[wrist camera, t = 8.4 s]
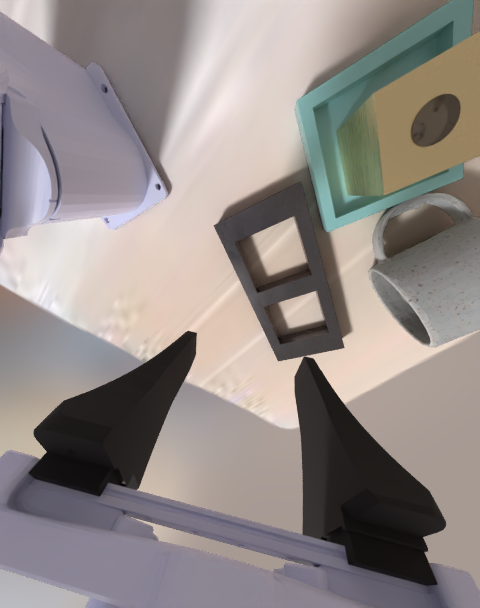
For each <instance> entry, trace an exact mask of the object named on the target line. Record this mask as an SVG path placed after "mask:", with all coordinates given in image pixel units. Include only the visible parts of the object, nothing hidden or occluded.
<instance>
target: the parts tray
mask: <svg viewBox="0 0 480 608" xmlns="http://www.w3.org/2000/svg"><path fill="white" fill-rule="evenodd" d="M473 1H474V0H451V1H449V2H448V3H446V4H445V5H443V6H442V7H440V8H439V9H437V10H435V11H434V12H432V13H431V14H429V15H428V16H426V17H425V18H423V19H422V20H420V21H419V22H417V23H415V24H414V25H412V26H411V27H409V28H408V29H406V30H405V31H403V32H402V33H400V34H399V35H397V36H395V37H394V38H392V39H391V40H389V41H388V42H386V43H385V44H383V45H382V46H380V47H379V48H377V49H375V50H374V51H372V52H371V53H369V54H368V55H366V56H365V57H363V58H362V59H360V60H358V61H357V62H355V63H354V64H352V65H351V66H349V67H348V68H346V69H345V70H343V71H342V72H340V73H338V74H337V75H335V76H334V77H332V78H331V79H329V80H328V81H326V82H325V83H323V84H322V85H320V86H318V87H317V88H315V89H314V90H312V91H311V92H309V93H308V94H306V95H305V96H303V97H301V98H300V99H298V100H297V103H296V107H295V113H296V117H297V121H298V126H299V130H300V134H301V138H302V142H303V146H304V151H305V155H306V159H307V163H308V167H309V171H310V176H311V180H312V184H313V188H314V192H315V197H316V201H317V205H318V209H319V213H320V217H321V222H322V226H323V229H324V230H325V231H327V232H329V231H332V230H334V229H337V228H339V227H342V226H344V225H347V224H349V223H352V222H354V221H357V220H359V219H362V218H364V217H367V216H369V215H372V214H375V213H377V212H380V211H382V210H385V209H387V208H390V207H392V206H395V205H397V204H400V203H402V202H405V201H407V200H410V199H412V198H415V197H417V196H420V195H422V194H425V193H427V192H430V191H432V190H435V189H437V188H440V187H442V186H445V185H447V184H450V183H452V182H455V181H457V180H460V179H462V178H463V168H464V162H463V163H461V164H458V165H456V166H454V167H451V168H449V169H446V170H444V171H442V172H439V173H437V174H435V175H432V176H430V177H427V178H425V179H423V180H420V181H418V182H416V183H413V184H411V185H408V186H406V187H404V188H401V189H399V190H396V191H394V192H392V193H389V194H387V195H385V196H347V191H346V186H345V180H344V174H343V168H342V163H341V157H340V151H339V145H338V140H337V134H336V131H337V130H338V129H339V128H340V127H341V126H342V125H343V124H344V123H345V122H346V121H347V120H348V119H349V118H350V117H351V116H352V115H353V114H354V113H355V112H356V111H357V110H358V109H359V108H360V107H361V106H362V105H363V104H364V103H365V102H366V101H367V100H368V98H369V97H370V96H371V95H372V94H373V93H375V92H376V91H378V90H380V89H381V88H383V87H385V86H387V85H388V84H390V83H392V82H393V81H395V80H397V79H399V78H400V77H402V76H404V75H405V74H407V73H409V72H411V71H412V70H414V69H416V68H417V67H419V66H421V65H422V64H424V63H426V62H428V61H429V60H431V59H433V58H434V57H436V56H438V55H440V54H441V53H443V52H445V51H446V50H448V49H450V48H452V47H453V46H455V45H457V44H458V43H460V42H462V41H464V40H465V39H467V38H469V37H470V36H471V34H472V17H473Z"/></svg>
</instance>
